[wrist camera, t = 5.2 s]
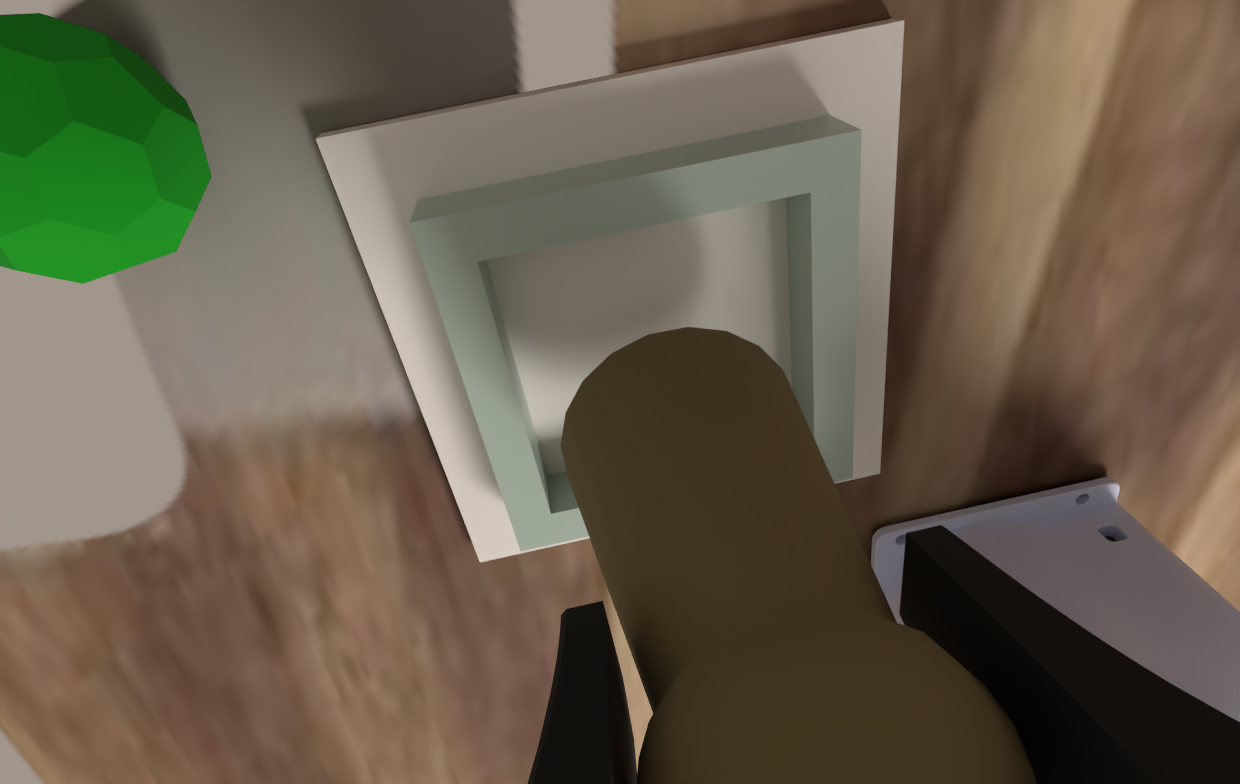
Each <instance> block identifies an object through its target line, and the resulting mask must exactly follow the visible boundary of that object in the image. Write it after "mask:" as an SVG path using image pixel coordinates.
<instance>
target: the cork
mask: <svg viewBox="0 0 1240 784" xmlns="http://www.w3.org/2000/svg"><path fill="white" fill-rule="evenodd" d="M561 450H562V455H563V459H564V464H565V468H566V473H567V477H568V480H569V482H570V485H571V488H572V491H573V493H574V496H575V499H576V502H577V504H578V507H579V510H580V513H581V515H582V518H583V521H584V524H585V526H586V529H587V532H588V535H589V537H590V540H591V543H592V546H593V548H594V551H595V554H596V557H597V560H598V562H599V565H600V568H601V571H602V573H603V576H604V579H605V582H606V584H607V587H608V590H609V593H610V595H611V598H612V601H613V604H614V606H615V609H616V612H617V615H618V617H619V620H620V623H621V626H622V628H623V631H624V634H625V637H626V639H627V642H628V645H629V648H630V650H631V653H632V656H633V659H634V661H635V664H636V667H637V670H638V672H639V675H640V678H641V681H642V683H643V686H644V689H645V692H646V694H647V697H648V700H649V703H650V705H651V708H652V711H653V715H652V717H651V719H650V721H649V723H648V727H647V730H646V734H645V738H644V741H643V745H642V748H641V752H640V756H639V762H638V773H637V784H1037V782H1036V779H1035V776H1034V772H1033V770H1032V767H1031V765H1030V762H1029V760H1028V757H1027V755H1026V753H1025V750H1024V748H1023V745H1022V743H1021V740H1020V738H1019V736H1018V733H1017V731H1016V728H1015V726H1014V724H1013V723H1012V721H1011V720H1010V719H1009V717H1008V716H1007V715H1006V713H1005V712H1004V710H1003V709H1002V708H1001V706H1000V705H999V704H998V702H997V701H996V700H995V698H994V697H993V695H992V694H991V693H990V691H989V690H988V689H987V687H986V686H985V685H984V684H983V683H982V682H980V681H979V680H978V679H977V678H976V677H975V676H974V675H972V674H971V673H970V672H969V671H968V670H967V669H966V668H964V667H963V666H962V665H961V664H960V663H959V662H958V661H956V660H955V659H954V658H953V657H952V656H951V655H950V654H948V653H947V652H946V651H945V650H944V649H943V648H941V647H940V646H939V645H938V644H937V643H936V642H934V641H933V640H932V639H931V638H930V637H929V636H927V635H926V634H925V633H924V632H922V631H919V630H916V629H914V628H911V627H908V626H905V625H902V624H899V623H897V621H896V619H895V617H894V615H893V612H892V610H891V608H890V606H889V604H888V601H887V599H886V597H885V595H884V592H883V590H882V588H881V586H880V584H879V581H878V579H877V577H876V575H875V573H874V570H873V568H872V566H871V564H870V561H869V559H868V557H867V555H866V553H865V550H864V548H863V546H862V544H861V541H860V539H859V537H858V535H857V533H856V530H855V528H854V526H853V524H852V521H851V519H850V517H849V515H848V513H847V510H846V508H845V506H844V504H843V502H842V499H841V497H840V495H839V493H838V490H837V488H836V486H835V484H834V482H833V479H832V477H831V475H830V473H829V470H828V468H827V466H826V464H825V462H824V459H823V457H822V455H821V453H820V450H819V448H818V446H817V444H816V442H815V439H814V437H813V435H812V433H811V431H810V428H809V426H808V424H807V422H806V419H805V417H804V415H803V413H802V411H801V408H800V406H799V404H798V402H797V399H796V397H795V395H794V393H793V391H792V388H791V386H790V384H789V382H788V379H787V377H786V375H785V373H784V371H783V369H782V368H781V367H780V366H779V365H778V364H777V363H776V362H775V361H774V360H773V359H772V358H771V357H770V356H769V355H768V354H767V353H766V352H765V351H764V350H763V349H762V348H761V347H760V346H758V345H756V344H754V343H752V342H750V341H748V340H745V339H743V338H741V337H739V336H737V335H734V334H732V333H730V332H728V331H723V330H713V329H704V328H694V327H684V328H679V329H674V330H669V331H664V332H658V333H653V334H648V335H646V336H644V337H642V338H640V339H638V340H636V341H634V342H632V343H630V344H628V345H626V346H625V347H623V348H621V349H619V350H617V351H615V352H613V353H611V354H610V355H609V356H608V357H607V358H606V359H605V360H604V361H603V362H602V363H601V364H600V365H599V366H598V367H596V368H595V369H594V370H593V371H592V372H591V373H590V374H589V375H588V376H587V377H586V378H585V379H584V380H583V381H582V383H581V385H580V387H579V389H578V391H577V392H576V394H575V396H574V398H573V400H572V402H571V403H570V405H569V407H568V409H567V411H566V413H565V420H564V426H563V433H562V439H561Z"/></svg>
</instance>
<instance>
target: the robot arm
mask: <svg viewBox="0 0 1240 784" xmlns="http://www.w3.org/2000/svg"><path fill="white" fill-rule="evenodd" d="M1119 490H1120V486H1119V484H1118V483H1117V482H1116V481H1114V480H1113V479H1112V478H1109V477H1105V478H1099V479H1095V480H1091V481H1086V482H1082V483H1077V484H1073V485H1068V486H1064V487H1059V488H1055V489H1050V490H1046V491H1041V492H1037V493H1033V494H1028V495H1024V496H1019V497H1015V498H1010V499H1006V500H1001V501H997V502H992V503H988V504H983V505H979V506H975V507H970V508H966V509H961V510H957V511H952V512H948V513H943V514H939V515H934V516H930V517H925V518H921V519H917V520H912V521H908V522H903V523H899V524H894V525H890V526H885V527H882V528H880V529H879V530H877V531H876V532H875V533H874V535H873V538H872V551H871V566H872V568H873V570H874V573H875V575H876V577H877V579H878V581H879V584H880V586H881V588H882V590H883V592H884V595H885V597H886V599H887V601H888V604H889V606H890V608H891V610H892V612H893V615H894V617H895V619H896V621H897V623H899V624H902V625H905V626H908V627H911V628H914V629H916V630H919V631H922V632H924V633H925V634H926V635H927V636H929V637H930V638H931V639H932V640H933V641H934V642H936V643H937V644H938V645H939V646H940V647H941V648H943V649H944V650H945V651H946V652H947V653H948V654H950V655H951V656H952V657H953V658H954V659H955V660H956V661H958V662H959V663H960V664H961V665H962V666H963V667H964V668H966V669H967V670H968V671H969V672H970V673H971V674H972V675H974V676H975V677H976V678H977V679H978V680H979V681H980V682H982V683H983V684H984V685H985V686H986V687H987V689H988V690H989V691H990V693H991V694H992V695H993V697H994V698H995V700H996V701H997V702H998V704H999V705H1000V706H1001V708H1002V709H1003V710H1004V712H1005V713H1006V715H1007V716H1008V717H1009V719H1010V720H1011V721H1012V723H1013V724H1014V726H1015V728H1016V731H1017V733H1018V736H1019V738H1020V740H1021V743H1022V745H1023V748H1024V750H1025V753H1026V755H1027V757H1028V760H1029V762H1030V765H1031V767H1032V770H1033V772H1034V776H1035V779H1036V782H1037V784H1240V612H1239V611H1238V610H1237V609H1236V608H1235V607H1234V606H1233V605H1231V604H1230V603H1229V602H1228V601H1227V600H1226V599H1225V598H1224V597H1222V596H1221V595H1220V594H1219V593H1218V592H1217V591H1216V590H1214V589H1213V588H1212V587H1211V586H1210V585H1209V584H1208V583H1207V582H1205V581H1204V580H1203V579H1202V578H1201V577H1200V576H1199V575H1198V574H1196V573H1195V572H1194V571H1193V570H1192V569H1191V568H1190V567H1189V566H1187V565H1186V564H1185V563H1184V562H1183V561H1182V560H1181V559H1180V558H1178V557H1177V556H1176V555H1175V554H1174V553H1173V552H1172V551H1171V550H1169V549H1168V548H1167V547H1166V546H1165V545H1164V544H1163V543H1162V542H1160V541H1159V540H1158V539H1157V538H1156V537H1155V536H1154V535H1153V534H1151V533H1150V532H1149V531H1148V530H1147V529H1146V528H1145V527H1144V526H1142V525H1141V524H1140V523H1139V522H1138V521H1137V520H1136V519H1135V518H1133V517H1132V516H1131V515H1130V514H1129V513H1128V512H1127V511H1125V510H1124V509H1123V508H1122V507H1121V506H1120V505H1119V504H1118V503H1116V500H1117V497H1118V494H1119ZM528 784H637V769H636V758H635V747H634V737H633V732H632V726H631V721H630V715H629V709H628V704H627V698H626V693H625V687H624V682H623V676H622V673H621V669H620V665H619V661H618V657H617V654H616V650H615V646H614V642H613V638H612V635H611V631H610V627H609V623H608V620H607V616H606V612H605V608H604V604H603V601H601V602H596V603H592V604H587V605H583V606H578V607H574V608H569V609H566V610H565V611H564V613H563V614H562V615H561V627H560V638H559V647H558V654H557V661H556V667H555V672H554V678H553V683H552V689H551V694H550V698H549V703H548V707H547V711H546V716H545V720H544V724H543V729H542V733H541V738H540V741H539V745H538V749H537V753H536V756H535V760H534V763H533V767H532V770H531V774H530V777H529V781H528Z"/></svg>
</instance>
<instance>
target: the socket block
mask: <svg viewBox="0 0 1240 784" xmlns="http://www.w3.org/2000/svg"><path fill="white" fill-rule="evenodd" d="M903 37H904V20H899V19H893V18H892V19H887V20H882V21H877V22H872V23H867V24H862V25H857V26H852V27H847V28H842V29H837V30H832V31H827V32H822V33H818V34H813V35H808V36H803V37H798V38H793V39H788V40H783V41H778V42H773V43H768V44H763V45H758V46H753V47H748V48H743V49H738V50H733V51H728V52H723V53H718V54H713V55H708V56H703V57H698V58H693V59H688V60H683V61H678V62H673V63H668V64H663V65H658V66H653V67H648V68H643V69H638V70H633V71H628V72H623V73H618V74H613V75H608V76H604V77H598V78H594V79H589V80H584V81H579V82H574V83H569V84H564V85H559V86H554V87H549V88H544V89H539V90H534V91H529V92H524V93H519V94H514V95H509V96H504V97H499V98H494V99H489V100H484V101H479V102H474V103H469V104H464V105H459V106H454V107H449V108H444V109H439V110H434V111H429V112H424V113H419V114H414V115H409V116H404V117H399V118H394V119H389V120H384V121H379V122H374V123H370V124H365V125H360V126H355V127H350V128H345V129H340V130H335V131H330V132H325V133H321V134H320V135H319V136H318V137H317V138H316V141H317V144H318V146H319V149H320V151H321V154H322V157H323V159H324V162H325V164H326V167H327V169H328V172H329V175H330V177H331V180H332V182H333V185H334V187H335V190H336V193H337V195H338V198H339V200H340V203H341V206H342V208H343V211H344V213H345V216H346V218H347V221H348V224H349V226H350V229H351V231H352V234H353V236H354V239H355V242H356V244H357V247H358V249H359V252H360V254H361V257H362V260H363V262H364V265H365V267H366V270H367V273H368V275H369V278H370V280H371V283H372V285H373V288H374V291H375V293H376V296H377V298H378V301H379V303H380V306H381V309H382V311H383V314H384V316H385V319H386V321H387V324H388V327H389V329H390V332H391V334H392V337H393V339H394V342H395V345H396V347H397V350H398V352H399V355H400V358H401V360H402V363H403V365H404V368H405V370H406V373H407V376H408V378H409V381H410V383H411V386H412V388H413V391H414V394H415V396H416V399H417V401H418V404H419V406H420V409H421V412H422V414H423V417H424V419H425V422H426V424H427V427H428V430H429V432H430V435H431V437H432V440H433V443H434V445H435V448H436V450H437V453H438V455H439V458H440V461H441V463H442V466H443V468H444V471H445V473H446V476H447V479H448V481H449V484H450V486H451V489H452V491H453V494H454V497H455V499H456V502H457V504H458V507H459V509H460V512H461V515H462V517H463V520H464V522H465V525H466V528H467V530H468V533H469V535H470V538H471V540H472V543H473V546H474V548H475V551H476V553H477V556H478V558H479V561H480V562H484V561H489V560H493V559H498V558H502V557H507V556H511V555H516V554H520V553H525V552H529V551H534V550H538V549H543V548H547V547H552V546H556V545H561V544H565V543H570V542H574V541H579V540H583V539H588V538H590V537H589V535H588V532H587V529H586V526H585V524H584V521H583V518H582V515H581V513H580V510H579V507H578V504H577V502H576V499H575V496H574V493H573V491H572V488H571V485H570V482H569V480H568V477H567V473H566V468H565V464H564V459H563V455H562V450H561V439H562V433H563V426H564V420H565V413H566V411H567V409H568V407H569V405H570V403H571V402H572V400H573V398H574V396H575V394H576V392H577V391H578V389H579V387H580V385H581V383H582V381H583V380H584V379H585V378H586V377H587V376H588V375H589V374H590V373H591V372H592V371H593V370H594V369H595V368H596V367H598V366H599V365H600V364H601V363H602V362H603V361H604V360H605V359H606V358H607V357H608V356H609V355H610V354H611V353H613V352H615V351H617V350H619V349H621V348H623V347H625V346H626V345H628V344H630V343H632V342H634V341H636V340H638V339H640V338H642V337H644V336H646V335H648V334H653V333H658V332H664V331H669V330H674V329H679V328H684V327H694V328H704V329H713V330H723V331H728V332H730V333H732V334H734V335H737V336H739V337H741V338H743V339H745V340H748V341H750V342H752V343H754V344H756V345H758V346H760V347H761V348H762V349H763V350H764V351H765V352H766V353H767V354H768V355H769V356H770V357H771V358H772V359H773V360H774V361H775V362H776V363H777V364H778V365H779V366H780V367H781V368H782V369H783V371H784V373H785V375H786V377H787V379H788V382H789V384H790V386H791V388H792V391H793V393H794V395H795V397H796V399H797V402H798V404H799V406H800V408H801V411H802V413H803V415H804V417H805V419H806V422H807V424H808V426H809V428H810V431H811V433H812V435H813V437H814V439H815V442H816V444H817V446H818V448H819V450H820V453H821V455H822V457H823V459H824V462H825V464H826V466H827V468H828V470H829V473H830V475H831V477H832V479H833V482H834V484H836V483H841V482H845V481H850V480H854V479H859V478H863V477H868V476H872V475H877V474H880V467H881V448H882V429H883V411H884V392H885V373H886V354H887V336H888V317H889V298H890V280H891V261H892V242H893V224H894V205H895V186H896V168H897V149H898V130H899V112H900V93H901V74H902V56H903Z"/></svg>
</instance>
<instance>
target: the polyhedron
mask: <svg viewBox="0 0 1240 784" xmlns="http://www.w3.org/2000/svg"><path fill="white" fill-rule="evenodd" d="M210 178H211V173H210V169H209V166H208V162H207V159H206V155H205V151H204V148H203V144H202V141H201V137H200V133H199V130H198V126H197V123H196V121H195V119H194V117H193V115H192V113H191V110H190V108H189V106H188V104H187V102H186V100H185V99H184V98H183V97H182V96H181V95H180V94H179V93H178V92H177V91H176V90H175V89H174V88H173V87H172V86H171V85H170V84H169V83H168V82H167V81H166V80H165V79H164V78H163V77H162V76H161V75H160V74H159V73H158V72H157V71H156V70H155V69H154V68H153V67H152V66H151V65H150V64H149V63H148V62H147V61H146V60H145V59H144V58H142V57H141V56H139V55H137V54H136V53H134V52H133V51H131V50H130V49H128V48H126V47H125V46H123V45H122V44H120V43H118V42H117V41H115V40H114V39H112V38H111V37H109V36H107V35H106V34H104V33H101V32H98V31H94V30H91V29H88V28H85V27H82V26H79V25H75V24H72V23H69V22H66V21H63V20H60V19H56V18H53V17H50V16H47V15H43V14H40V13H37V14H13V15H0V266H3V267H6V268H10V269H13V270H17V271H22V272H27V273H33V274H38V275H42V276H47V277H52V278H58V279H63V280H68V281H73V282H78V283H86V282H89V281H92V280H95V279H98V278H101V277H103V276H106V275H109V274H112V273H115V272H118V271H121V270H124V269H127V268H130V267H133V266H136V265H138V264H141V263H144V262H147V261H150V260H153V259H156V258H159V257H162V256H164V255H167V254H170V253H173V252H176V251H177V249H178V246H179V244H180V242H181V240H182V238H183V236H184V234H185V232H186V230H187V228H188V226H189V224H190V222H191V220H192V218H193V215H194V213H195V211H196V209H197V207H198V205H199V203H200V200H201V198H202V196H203V194H204V192H205V189H206V187H207V185H208V183H209V181H210Z"/></svg>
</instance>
